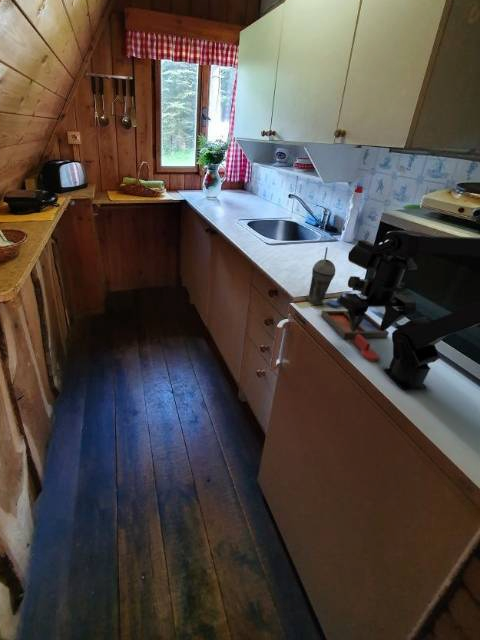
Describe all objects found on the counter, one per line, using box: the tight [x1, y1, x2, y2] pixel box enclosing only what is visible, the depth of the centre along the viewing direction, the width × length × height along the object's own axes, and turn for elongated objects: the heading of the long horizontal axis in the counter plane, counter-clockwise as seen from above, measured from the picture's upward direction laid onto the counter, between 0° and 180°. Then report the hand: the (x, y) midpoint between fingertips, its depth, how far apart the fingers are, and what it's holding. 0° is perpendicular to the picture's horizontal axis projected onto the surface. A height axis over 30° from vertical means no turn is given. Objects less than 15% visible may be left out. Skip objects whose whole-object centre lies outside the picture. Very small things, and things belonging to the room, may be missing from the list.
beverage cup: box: [308, 246, 336, 305], centre depth 103 cm, size 7×7×20 cm
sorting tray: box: [320, 310, 390, 340], centre depth 94 cm, size 12×15×2 cm
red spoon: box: [353, 334, 379, 362], centre depth 83 cm, size 8×4×3 cm, turn 10°
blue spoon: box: [326, 296, 344, 309], centre depth 105 cm, size 8×4×3 cm, turn 100°
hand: (367, 330), depth 82 cm, fingers open, 9 cm apart
